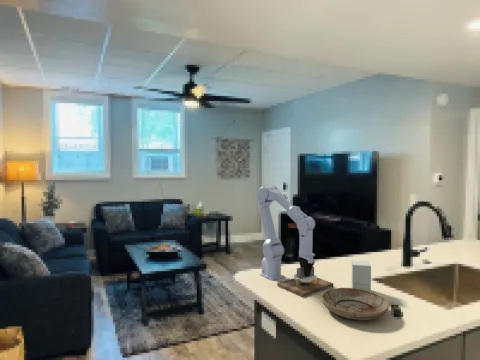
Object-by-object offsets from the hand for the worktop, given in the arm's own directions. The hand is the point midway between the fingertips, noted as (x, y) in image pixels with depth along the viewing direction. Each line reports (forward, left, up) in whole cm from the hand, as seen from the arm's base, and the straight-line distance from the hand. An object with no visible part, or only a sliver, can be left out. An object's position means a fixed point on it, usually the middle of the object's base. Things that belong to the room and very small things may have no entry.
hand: (305, 274), depth 147 cm
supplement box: (+18, +15, -6) cm, 24 cm away
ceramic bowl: (+28, -4, -6) cm, 29 cm away
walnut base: (0, 0, -5) cm, 5 cm away
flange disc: (+1, 0, -2) cm, 2 cm away
